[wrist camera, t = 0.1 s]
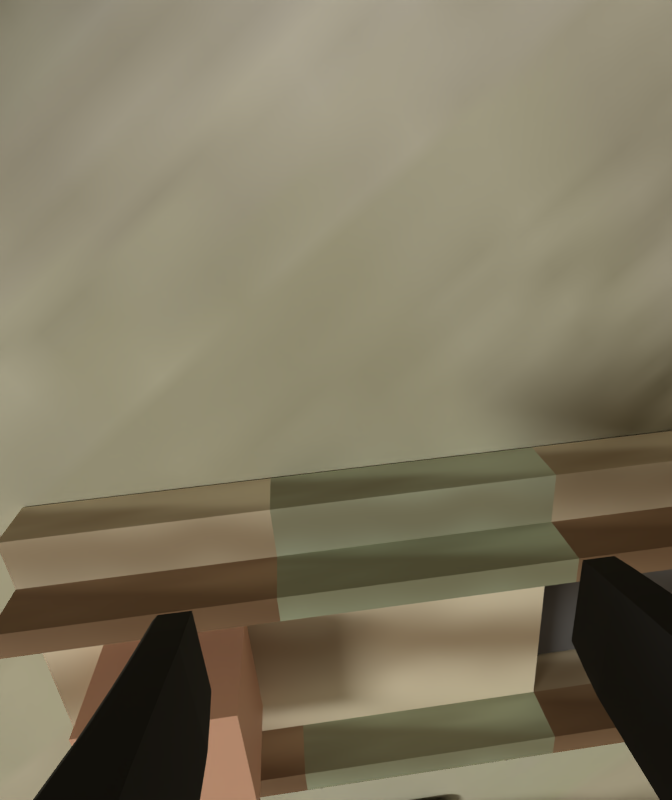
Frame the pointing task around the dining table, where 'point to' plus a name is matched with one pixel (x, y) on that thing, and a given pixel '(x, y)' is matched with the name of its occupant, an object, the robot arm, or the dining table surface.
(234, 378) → the dining table surface
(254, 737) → the block terracotta
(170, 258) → the dining table surface
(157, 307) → the dining table surface
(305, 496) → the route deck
